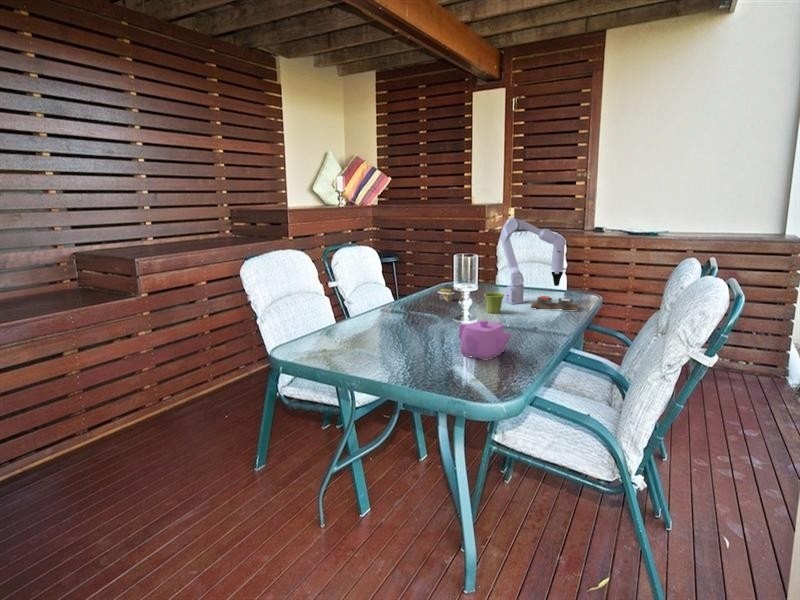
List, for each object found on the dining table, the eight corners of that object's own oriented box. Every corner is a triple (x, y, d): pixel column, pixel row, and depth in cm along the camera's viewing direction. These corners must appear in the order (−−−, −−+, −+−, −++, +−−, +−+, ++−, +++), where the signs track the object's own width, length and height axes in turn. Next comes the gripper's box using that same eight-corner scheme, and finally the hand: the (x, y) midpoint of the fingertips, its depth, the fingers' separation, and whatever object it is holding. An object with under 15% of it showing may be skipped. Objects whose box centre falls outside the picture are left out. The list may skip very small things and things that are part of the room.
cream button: (569, 304, 251) (570, 299, 250) (569, 306, 247) (570, 300, 247) (560, 304, 252) (561, 298, 252) (560, 306, 249) (561, 300, 248)
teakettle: (498, 345, 191) (499, 314, 189) (513, 360, 175) (514, 325, 172) (454, 347, 189) (454, 315, 187) (465, 362, 173) (466, 327, 170)
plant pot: (507, 313, 242) (508, 295, 240) (490, 315, 238) (491, 297, 236) (496, 309, 250) (497, 292, 248) (480, 311, 247) (480, 293, 245)
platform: (453, 305, 262) (453, 292, 260) (424, 301, 272) (424, 289, 271) (465, 301, 271) (465, 289, 270) (436, 297, 282) (436, 285, 280)
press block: (577, 307, 253) (578, 298, 252) (577, 312, 243) (578, 302, 242) (532, 304, 260) (533, 295, 259) (530, 308, 250) (531, 300, 249)
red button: (548, 302, 254) (549, 296, 254) (548, 303, 250) (548, 297, 250) (540, 301, 255) (540, 295, 255) (539, 303, 252) (540, 297, 251)
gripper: (565, 261, 249) (564, 288, 252) (566, 258, 263) (564, 283, 266) (551, 261, 252) (549, 287, 255) (552, 257, 265) (550, 282, 268)
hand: (556, 285), depth 260 cm, fingers closed
